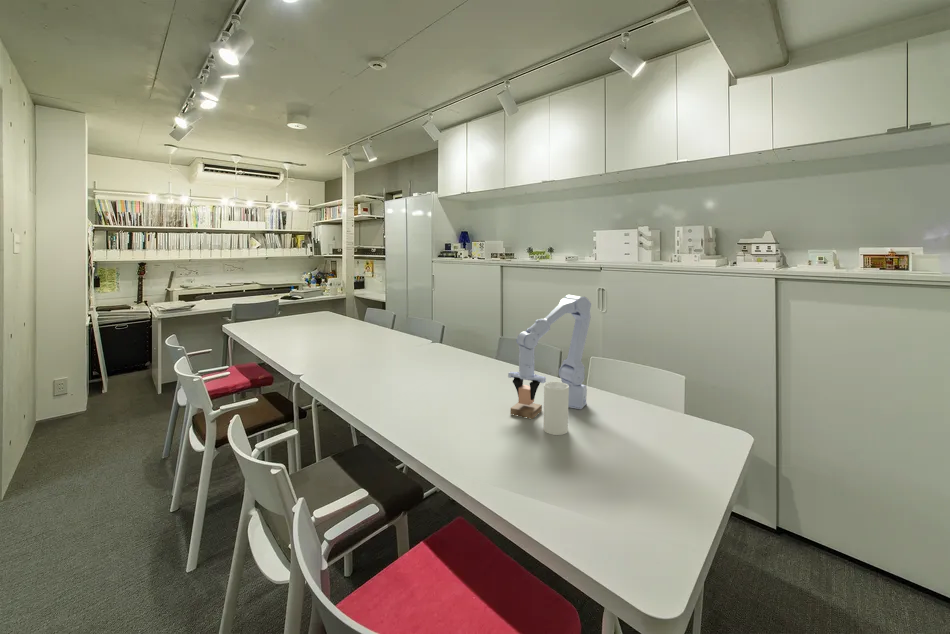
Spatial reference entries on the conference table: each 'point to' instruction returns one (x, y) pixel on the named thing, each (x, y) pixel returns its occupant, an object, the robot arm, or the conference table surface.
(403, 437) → the conference table surface
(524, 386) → the block
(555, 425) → the cup
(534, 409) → the base slab
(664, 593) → the conference table surface
